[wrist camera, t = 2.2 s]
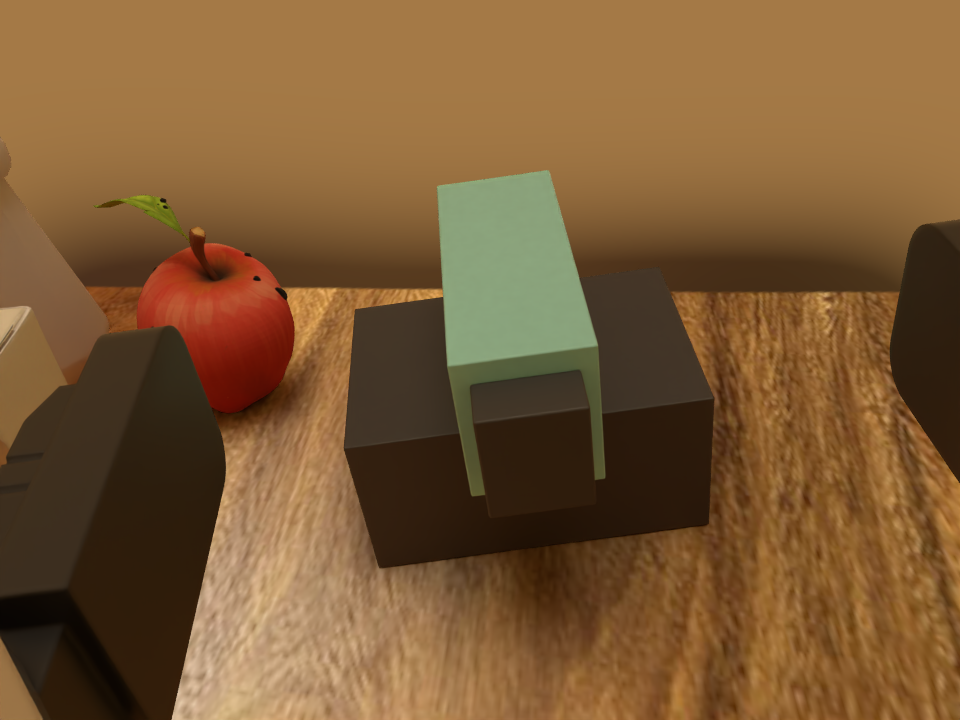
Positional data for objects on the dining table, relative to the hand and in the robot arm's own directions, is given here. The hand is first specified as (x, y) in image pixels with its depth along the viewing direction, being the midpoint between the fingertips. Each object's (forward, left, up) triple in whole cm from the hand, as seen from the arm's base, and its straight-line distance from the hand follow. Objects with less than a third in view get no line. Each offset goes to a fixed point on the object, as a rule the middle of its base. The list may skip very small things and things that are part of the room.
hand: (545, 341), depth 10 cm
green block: (0, -15, -11) cm, 19 cm away
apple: (+13, -25, -20) cm, 34 cm away
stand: (0, -18, -19) cm, 26 cm away
